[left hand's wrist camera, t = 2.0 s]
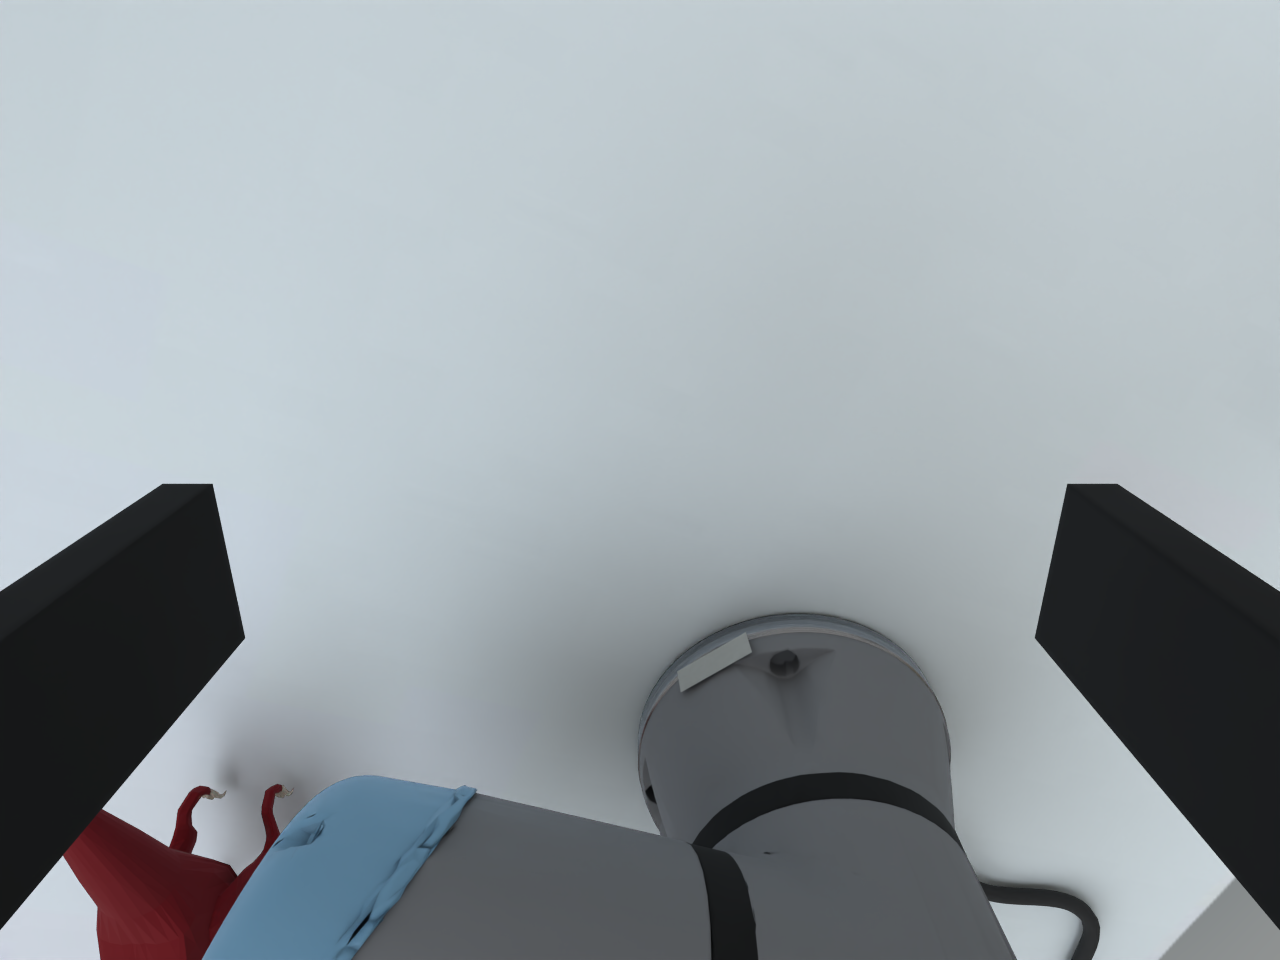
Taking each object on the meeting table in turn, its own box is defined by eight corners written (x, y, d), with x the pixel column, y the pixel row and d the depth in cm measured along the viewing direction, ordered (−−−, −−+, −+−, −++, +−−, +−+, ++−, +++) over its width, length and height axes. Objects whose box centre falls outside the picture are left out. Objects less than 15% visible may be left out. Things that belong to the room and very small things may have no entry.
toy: (255, 963, 49) (159, 1180, 39) (110, 601, 37) (-79, 786, 27) (374, 961, 48) (308, 1178, 39) (267, 597, 36) (134, 780, 27)
